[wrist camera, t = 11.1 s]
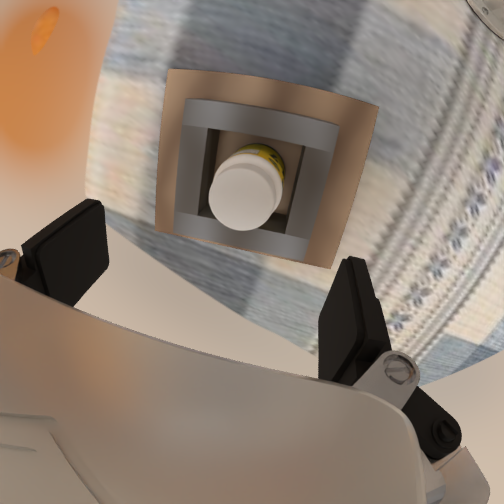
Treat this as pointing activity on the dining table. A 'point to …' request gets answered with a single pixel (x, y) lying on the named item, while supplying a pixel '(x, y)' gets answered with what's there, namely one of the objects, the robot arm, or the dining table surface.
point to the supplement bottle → (248, 187)
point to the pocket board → (270, 133)
